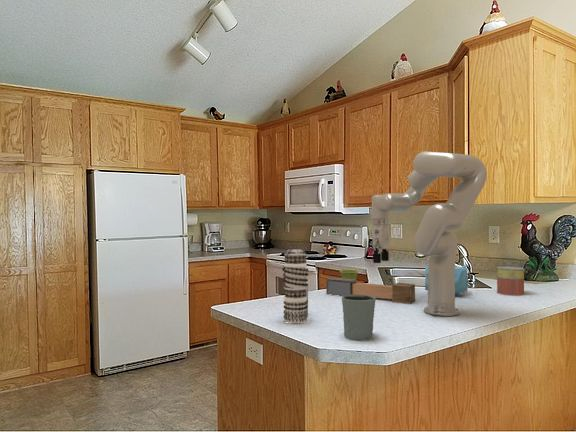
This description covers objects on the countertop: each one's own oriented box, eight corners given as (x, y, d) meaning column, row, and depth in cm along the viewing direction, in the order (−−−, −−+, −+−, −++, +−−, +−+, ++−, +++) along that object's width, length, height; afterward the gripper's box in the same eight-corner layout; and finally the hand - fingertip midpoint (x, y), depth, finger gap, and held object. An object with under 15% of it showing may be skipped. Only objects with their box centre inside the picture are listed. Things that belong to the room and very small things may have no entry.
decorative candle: (279, 323, 144) (278, 250, 144) (286, 317, 153) (286, 248, 153) (305, 325, 142) (305, 251, 141) (311, 318, 150) (310, 249, 150)
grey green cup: (336, 337, 127) (336, 298, 127) (349, 329, 136) (349, 292, 136) (368, 343, 122) (368, 301, 122) (380, 334, 130) (380, 295, 130)
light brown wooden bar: (400, 300, 178) (400, 288, 178) (344, 293, 192) (344, 282, 192) (403, 298, 181) (403, 286, 181) (348, 292, 195) (348, 281, 195)
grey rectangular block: (350, 297, 189) (350, 281, 189) (326, 294, 195) (326, 279, 195) (356, 294, 195) (356, 279, 194) (333, 292, 201) (333, 277, 201)
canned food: (505, 290, 204) (505, 265, 204) (529, 294, 194) (529, 268, 194) (492, 293, 198) (491, 267, 197) (516, 296, 188) (516, 270, 188)
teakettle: (424, 297, 188) (424, 264, 188) (426, 290, 206) (426, 260, 206) (470, 300, 182) (470, 266, 181) (468, 292, 199) (468, 261, 199)
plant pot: (362, 287, 213) (362, 270, 213) (351, 290, 206) (351, 272, 206) (346, 285, 219) (346, 269, 219) (336, 288, 212) (335, 271, 212)
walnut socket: (410, 304, 174) (410, 286, 174) (392, 302, 178) (392, 285, 178) (415, 301, 180) (415, 284, 180) (397, 299, 184) (397, 282, 184)
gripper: (381, 223, 175) (382, 264, 175) (395, 222, 190) (395, 260, 190) (365, 223, 179) (365, 263, 179) (379, 222, 194) (379, 259, 194)
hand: (381, 261), depth 184 cm, fingers open, 9 cm apart
